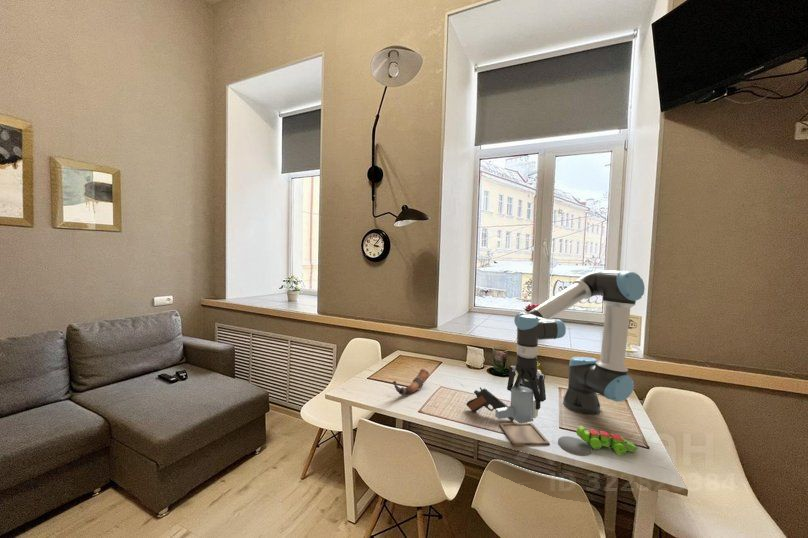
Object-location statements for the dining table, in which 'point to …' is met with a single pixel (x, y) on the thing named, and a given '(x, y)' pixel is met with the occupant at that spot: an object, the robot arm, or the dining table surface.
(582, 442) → the disc
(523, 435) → the brown square tray
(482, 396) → the handgun
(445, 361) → the dining table surface
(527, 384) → the camera
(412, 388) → the drinking horn
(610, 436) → the toy crocodile
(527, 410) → the grey l-shaped block
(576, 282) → the robot arm
